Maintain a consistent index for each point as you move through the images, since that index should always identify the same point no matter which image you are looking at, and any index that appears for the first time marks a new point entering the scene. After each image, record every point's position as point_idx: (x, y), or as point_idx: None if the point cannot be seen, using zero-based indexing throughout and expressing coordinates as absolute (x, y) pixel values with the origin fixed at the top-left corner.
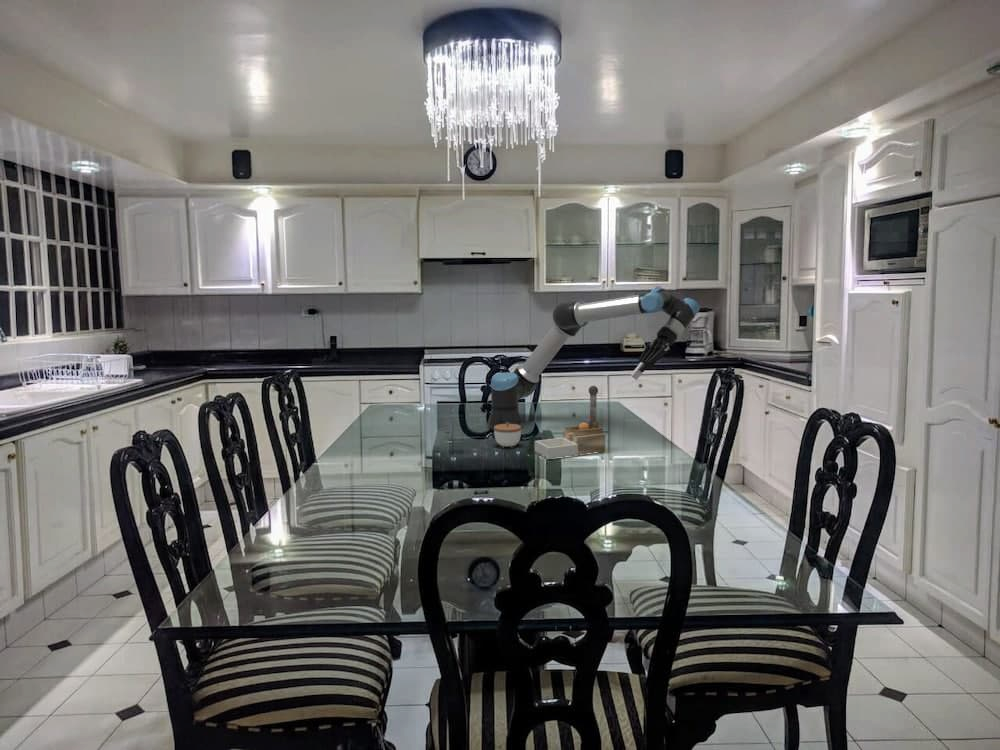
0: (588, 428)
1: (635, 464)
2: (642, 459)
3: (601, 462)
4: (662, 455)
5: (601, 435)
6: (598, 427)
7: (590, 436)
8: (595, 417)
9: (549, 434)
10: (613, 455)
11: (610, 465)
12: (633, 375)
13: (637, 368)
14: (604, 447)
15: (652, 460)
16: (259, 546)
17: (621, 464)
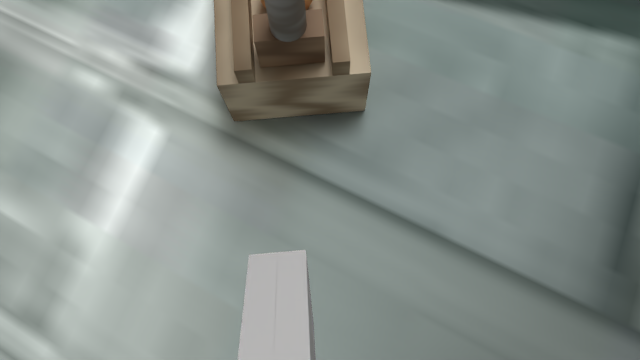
0: (262, 2)
1: (6, 150)
2: (56, 216)
3: (99, 42)
4: (67, 340)
5: (217, 67)
6: (257, 55)
7: (214, 8)
8: (267, 14)
9: (632, 26)
10: (171, 131)
11: (45, 55)
12: (250, 267)
13: (258, 355)
14: (230, 110)
15: (20, 249)
16: None
17: (35, 99)
